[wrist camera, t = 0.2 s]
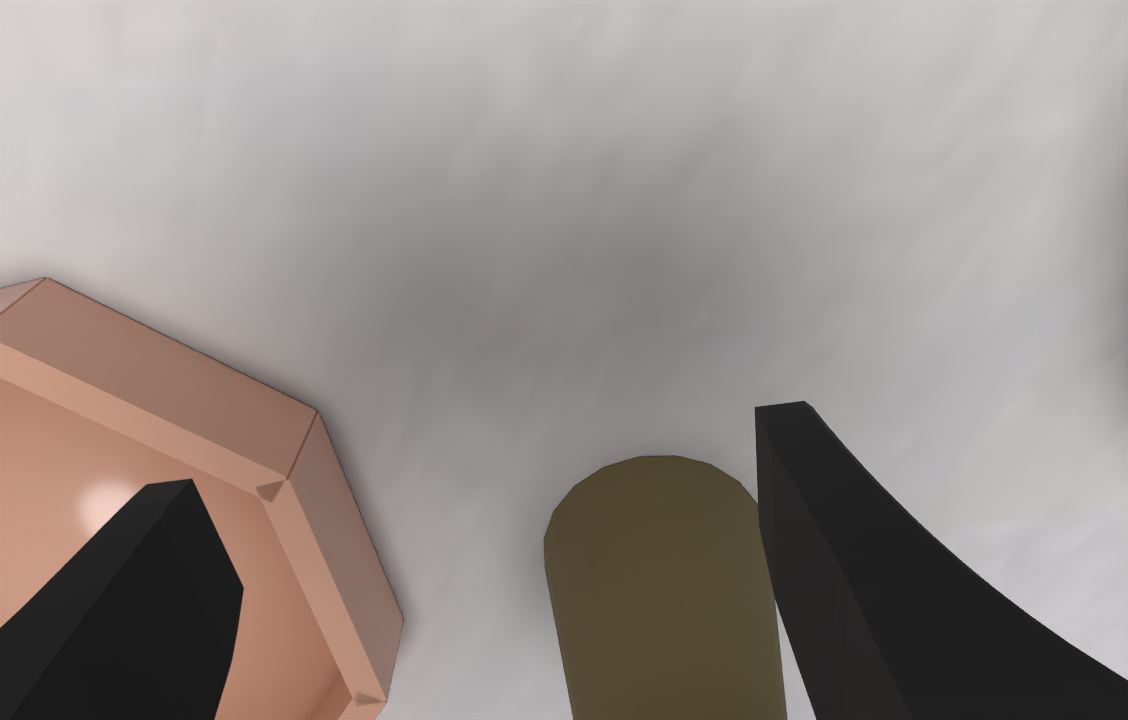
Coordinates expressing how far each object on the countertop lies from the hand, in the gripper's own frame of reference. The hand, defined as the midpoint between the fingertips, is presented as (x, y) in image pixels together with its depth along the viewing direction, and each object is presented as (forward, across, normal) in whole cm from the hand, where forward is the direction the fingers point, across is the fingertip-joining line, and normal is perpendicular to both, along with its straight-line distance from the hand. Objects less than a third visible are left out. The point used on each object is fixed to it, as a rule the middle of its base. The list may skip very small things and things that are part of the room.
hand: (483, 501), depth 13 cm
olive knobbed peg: (+10, -2, +11) cm, 15 cm away
